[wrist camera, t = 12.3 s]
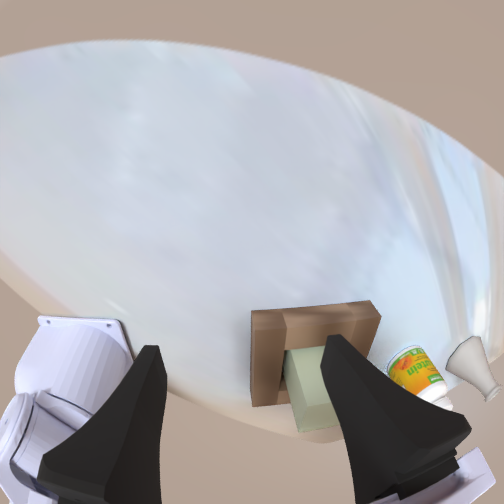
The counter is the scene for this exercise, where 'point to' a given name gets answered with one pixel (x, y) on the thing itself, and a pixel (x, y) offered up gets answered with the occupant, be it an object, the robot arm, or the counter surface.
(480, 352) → the flask
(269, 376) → the socket
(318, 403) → the peg
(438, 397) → the supplement bottle
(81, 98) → the counter surface
